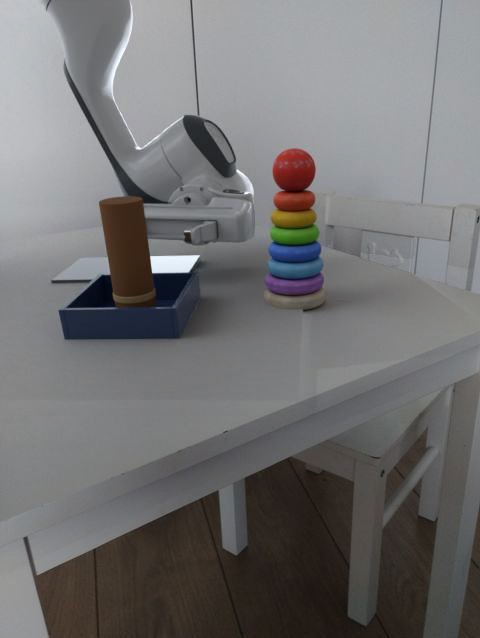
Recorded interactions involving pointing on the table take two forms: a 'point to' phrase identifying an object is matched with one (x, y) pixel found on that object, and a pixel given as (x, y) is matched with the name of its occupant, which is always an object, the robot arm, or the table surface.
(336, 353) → the table surface
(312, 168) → the stacking toy
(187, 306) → the tray
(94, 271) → the board
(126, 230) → the rolled mat
